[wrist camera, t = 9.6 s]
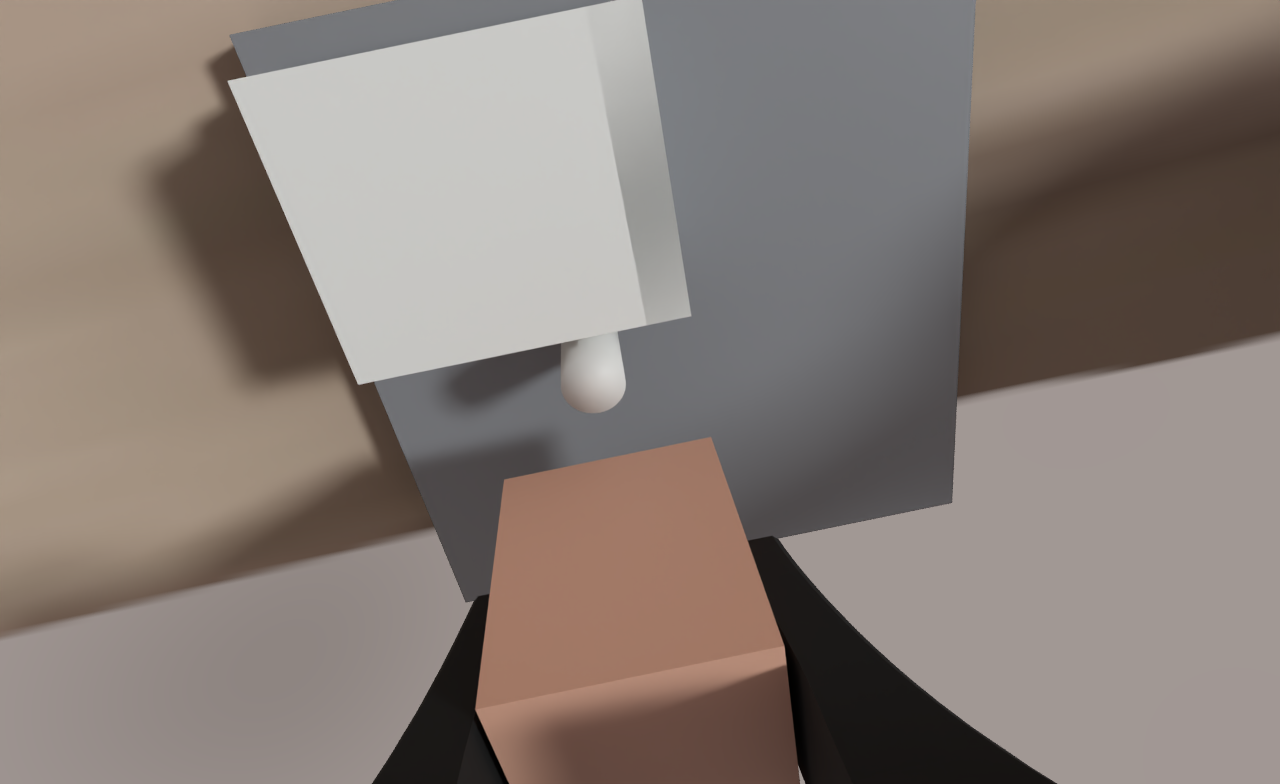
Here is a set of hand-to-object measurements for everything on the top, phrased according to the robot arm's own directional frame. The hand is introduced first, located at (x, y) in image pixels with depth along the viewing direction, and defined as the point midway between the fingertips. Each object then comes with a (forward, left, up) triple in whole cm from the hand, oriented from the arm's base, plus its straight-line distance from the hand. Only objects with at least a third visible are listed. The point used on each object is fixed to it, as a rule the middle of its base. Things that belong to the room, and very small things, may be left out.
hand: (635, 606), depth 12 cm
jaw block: (0, 0, -2) cm, 2 cm away
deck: (-2, -3, -6) cm, 7 cm away
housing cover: (+1, -7, -5) cm, 9 cm away
